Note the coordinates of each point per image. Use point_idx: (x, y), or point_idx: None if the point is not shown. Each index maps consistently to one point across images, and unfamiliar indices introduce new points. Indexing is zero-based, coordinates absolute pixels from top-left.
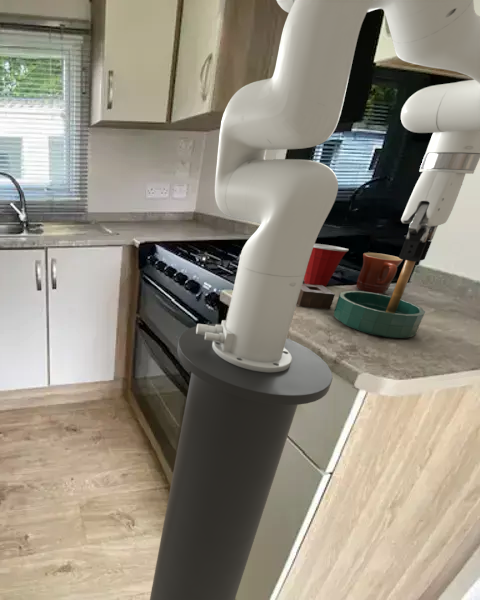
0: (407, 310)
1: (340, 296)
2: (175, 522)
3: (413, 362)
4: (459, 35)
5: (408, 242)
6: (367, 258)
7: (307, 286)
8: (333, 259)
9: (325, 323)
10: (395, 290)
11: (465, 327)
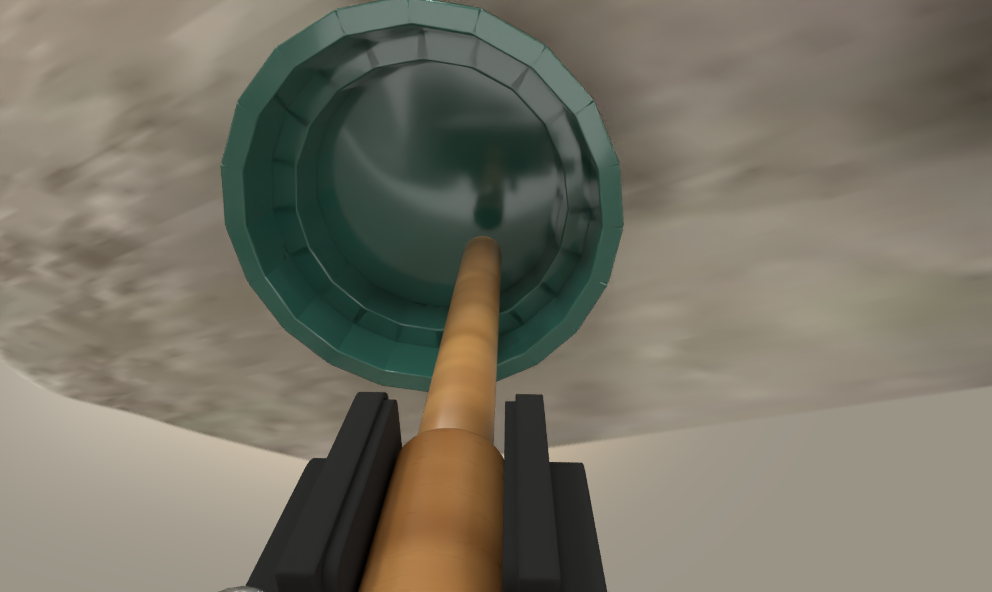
0: (562, 298)
1: (282, 43)
2: None
3: (223, 386)
4: None
5: (251, 583)
6: None
7: None
8: None
9: (225, 62)
10: (454, 294)
11: (800, 394)
